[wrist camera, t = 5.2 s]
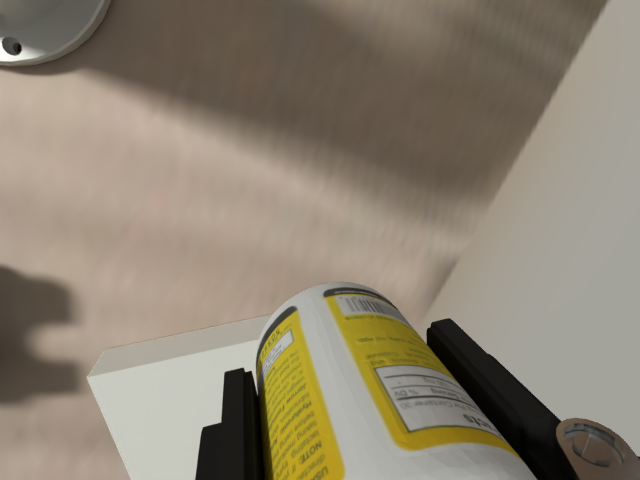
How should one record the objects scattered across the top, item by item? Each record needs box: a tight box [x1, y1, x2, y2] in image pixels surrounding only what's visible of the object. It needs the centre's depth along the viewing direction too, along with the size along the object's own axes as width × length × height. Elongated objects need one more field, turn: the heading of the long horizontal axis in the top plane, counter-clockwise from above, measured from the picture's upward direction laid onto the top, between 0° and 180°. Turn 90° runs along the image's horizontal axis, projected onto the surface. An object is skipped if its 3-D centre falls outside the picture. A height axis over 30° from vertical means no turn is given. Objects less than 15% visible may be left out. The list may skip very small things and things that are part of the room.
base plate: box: [87, 314, 273, 480], centre depth 28 cm, size 14×14×3 cm
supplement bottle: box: [256, 282, 537, 480], centre depth 8 cm, size 5×5×10 cm
